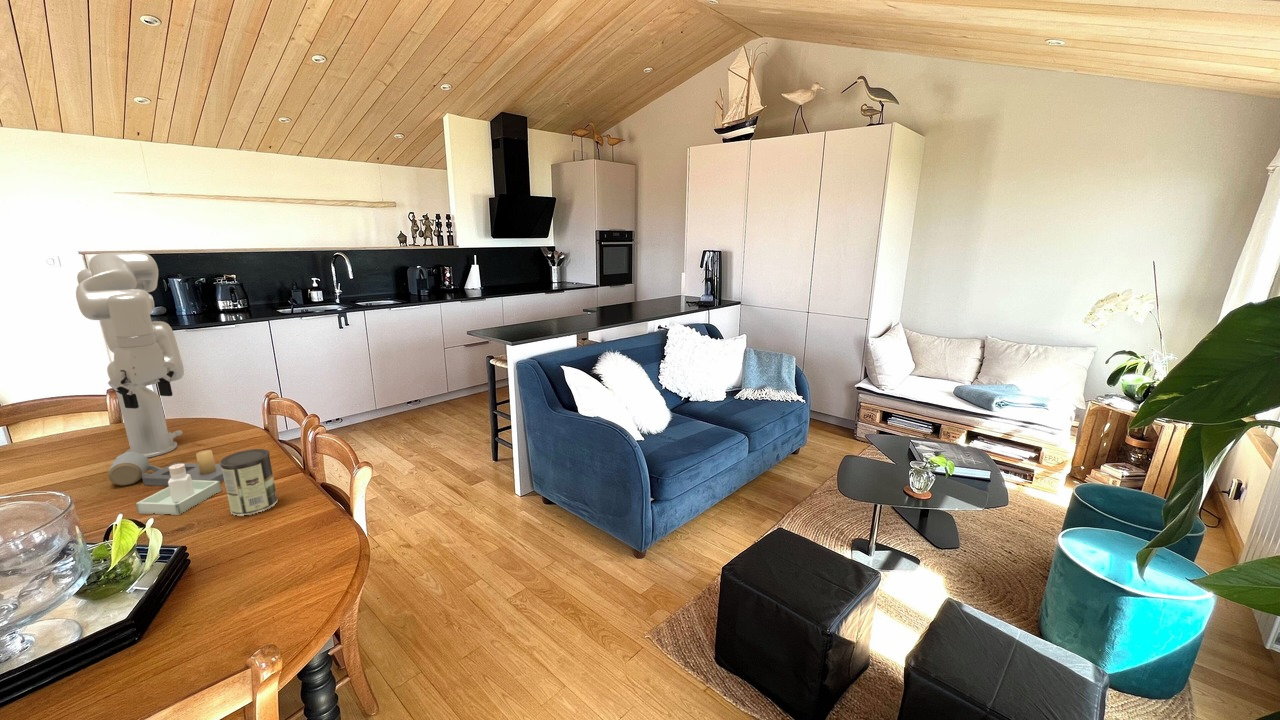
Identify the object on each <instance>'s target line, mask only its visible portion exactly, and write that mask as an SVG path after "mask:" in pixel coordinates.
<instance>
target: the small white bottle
mask: <svg viewBox="0 0 1280 720" xmlns="http://www.w3.org/2000/svg"><path fill="white" fill-rule="evenodd" d="M169 471H170V475H171V478H170V479H169V481H168V485H169V486H168V487H169V489H170V493H171V498H172V501H173V502H180V501H182V500H184V499H186V498H188V497H190V496H191V495H193V494H194V488H193V484H192V479H191V475H190V474H186V469H185V465H184V464H176V465H172V466H170V467H169Z"/></svg>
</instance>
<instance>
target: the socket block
mask: <svg viewBox="0 0 1280 720" xmlns="http://www.w3.org/2000/svg"><path fill="white" fill-rule="evenodd" d="M195 456H196V460H197V463H194V462H193V463H192V462H190V463H189V462H174V463H171V464H169V465H167V466H165V467H162V468H161V470H158V471H156V472H155V471H153V472H152V473H149V474H150V475H148V476H145V477H143V478H141V479H142V482H143V485H144V486H155V487H156V486H159V487H160V486H161V487H169V485H168V481H169V479H170V478H171V475H170V471H169V467H170V466H172V465H176V464H184V465H185V469H186V474H190V475H191V479H192V480H206V481H220V483H222V482H223V480H224V477H223V473H222V468H221V466H220V463H215V459H214V454H213V450H211V449H207V450H201V451H198V452H196V453H195ZM221 481H222V482H221Z"/></svg>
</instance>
